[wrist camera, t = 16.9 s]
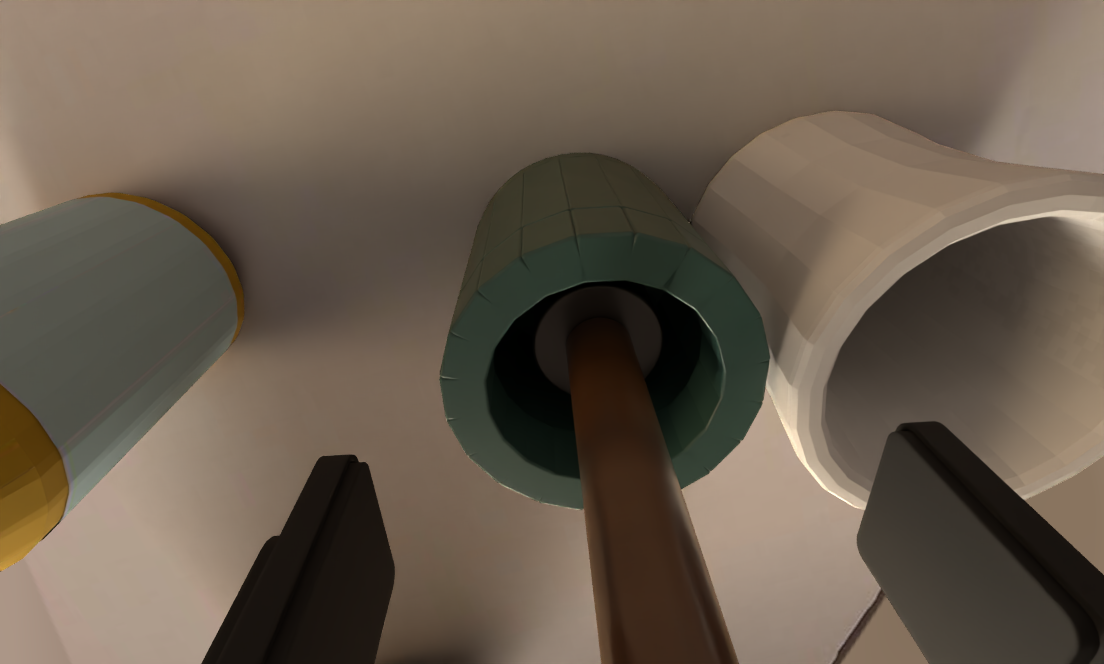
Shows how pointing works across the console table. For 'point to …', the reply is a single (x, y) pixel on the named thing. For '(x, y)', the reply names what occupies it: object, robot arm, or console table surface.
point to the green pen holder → (593, 256)
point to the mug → (917, 296)
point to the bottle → (97, 345)
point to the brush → (629, 479)
